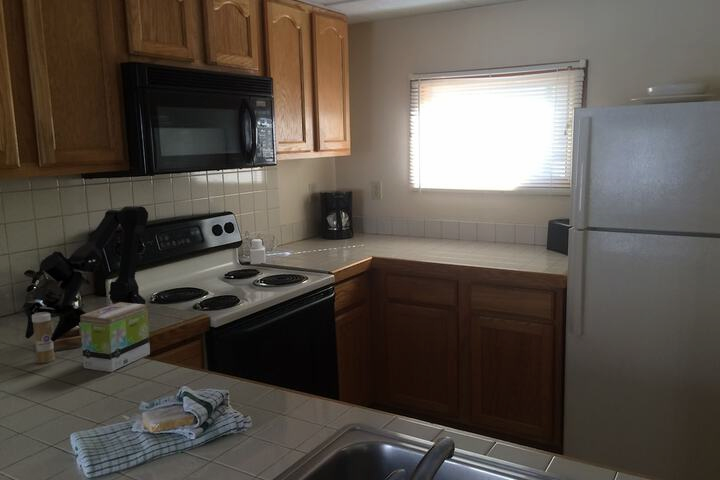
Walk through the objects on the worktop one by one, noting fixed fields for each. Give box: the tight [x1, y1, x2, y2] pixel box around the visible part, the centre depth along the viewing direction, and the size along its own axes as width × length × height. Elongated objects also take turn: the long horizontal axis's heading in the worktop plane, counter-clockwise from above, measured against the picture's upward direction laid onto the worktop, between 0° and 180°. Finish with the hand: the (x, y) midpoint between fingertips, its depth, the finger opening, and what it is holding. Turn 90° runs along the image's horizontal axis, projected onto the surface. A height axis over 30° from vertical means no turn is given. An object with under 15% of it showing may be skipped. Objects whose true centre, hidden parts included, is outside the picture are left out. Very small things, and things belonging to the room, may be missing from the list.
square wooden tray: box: [52, 327, 82, 352], centre depth 182 cm, size 10×10×3 cm
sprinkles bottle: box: [32, 312, 56, 364], centre depth 167 cm, size 5×5×13 cm
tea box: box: [80, 302, 151, 373], centre depth 165 cm, size 15×10×15 cm
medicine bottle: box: [249, 237, 267, 265], centre depth 301 cm, size 7×7×12 cm
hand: (39, 339), depth 166 cm, fingers open, 9 cm apart
